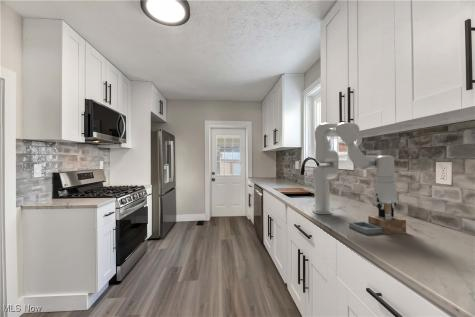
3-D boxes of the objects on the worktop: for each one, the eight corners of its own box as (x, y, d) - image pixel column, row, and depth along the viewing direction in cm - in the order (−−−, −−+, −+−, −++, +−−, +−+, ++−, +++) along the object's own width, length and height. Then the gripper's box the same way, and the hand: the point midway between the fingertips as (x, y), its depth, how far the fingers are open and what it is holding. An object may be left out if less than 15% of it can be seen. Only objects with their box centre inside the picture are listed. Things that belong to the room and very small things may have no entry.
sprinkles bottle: (391, 227, 107) (390, 200, 107) (380, 226, 110) (379, 199, 110) (392, 225, 110) (392, 198, 110) (381, 224, 113) (381, 197, 113)
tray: (349, 227, 115) (348, 222, 115) (364, 226, 117) (364, 221, 117) (366, 234, 103) (366, 229, 103) (382, 233, 105) (382, 228, 105)
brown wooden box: (368, 227, 114) (368, 215, 114) (386, 226, 116) (386, 214, 116) (386, 234, 103) (386, 221, 104) (406, 232, 105) (405, 220, 106)
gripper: (393, 179, 115) (393, 213, 115) (364, 180, 112) (365, 215, 112) (406, 180, 108) (407, 217, 108) (376, 181, 105) (377, 219, 105)
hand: (386, 216), depth 110 cm, fingers closed on sprinkles bottle, 4 cm apart
